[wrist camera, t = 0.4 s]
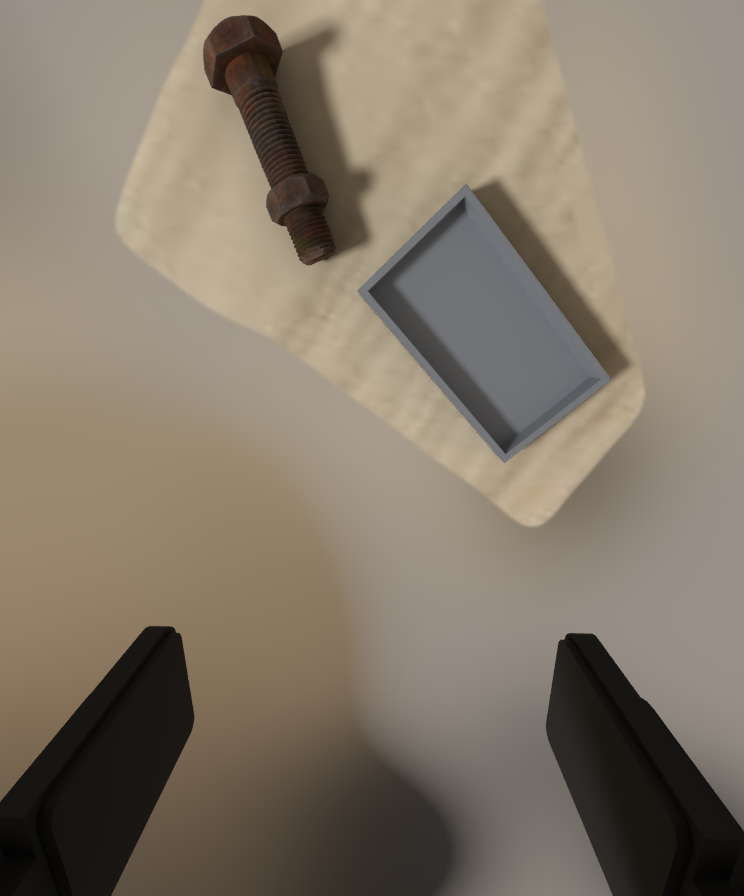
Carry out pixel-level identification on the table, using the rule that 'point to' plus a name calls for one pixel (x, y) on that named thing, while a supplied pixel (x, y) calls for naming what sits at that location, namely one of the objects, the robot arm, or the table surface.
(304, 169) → the bolt
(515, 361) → the parts tray
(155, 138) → the table surface
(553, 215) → the table surface
